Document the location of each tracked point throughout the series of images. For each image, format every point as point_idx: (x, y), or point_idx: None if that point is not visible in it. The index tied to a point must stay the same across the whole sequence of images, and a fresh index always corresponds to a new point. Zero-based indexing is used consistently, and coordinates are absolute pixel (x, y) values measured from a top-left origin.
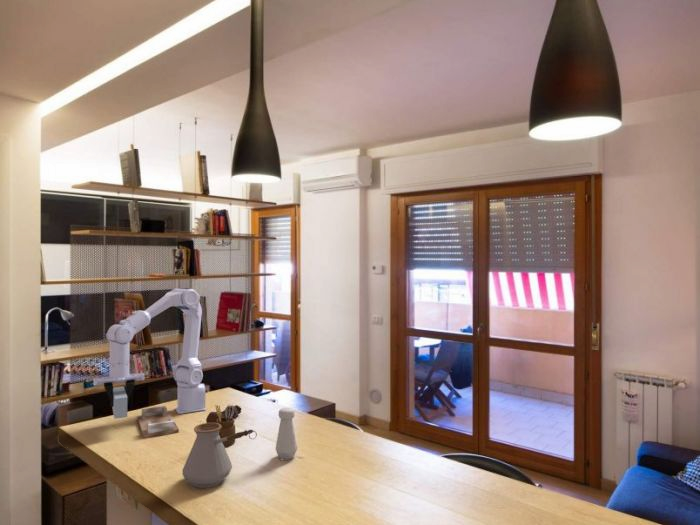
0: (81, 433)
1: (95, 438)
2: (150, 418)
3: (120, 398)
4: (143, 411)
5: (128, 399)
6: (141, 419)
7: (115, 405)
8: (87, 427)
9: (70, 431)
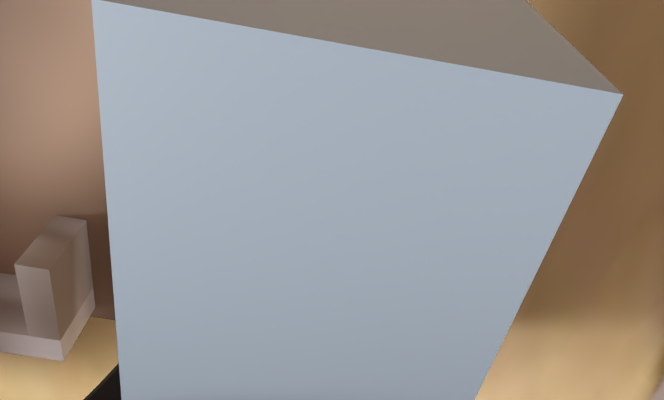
0: (609, 253)
1: (592, 33)
2: (13, 208)
3: (386, 45)
4: (42, 283)
5: None
6: (97, 229)
7: (516, 9)
8: (510, 350)
9: (642, 341)
